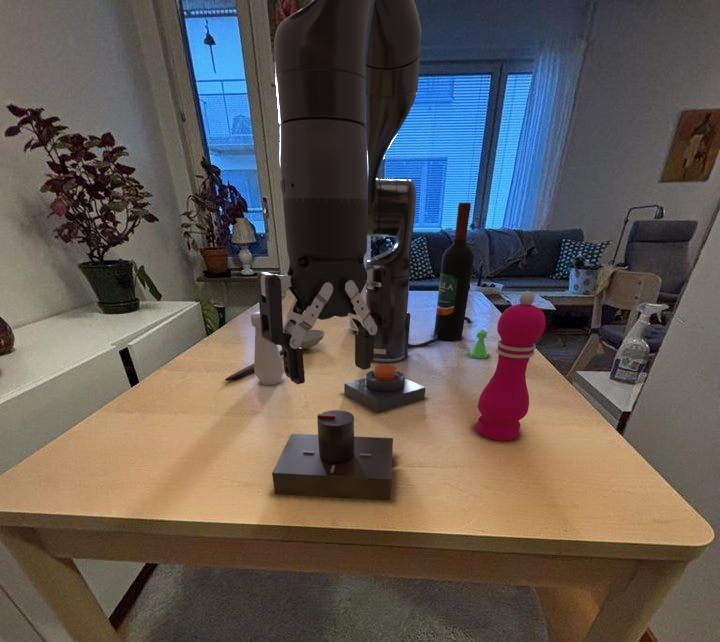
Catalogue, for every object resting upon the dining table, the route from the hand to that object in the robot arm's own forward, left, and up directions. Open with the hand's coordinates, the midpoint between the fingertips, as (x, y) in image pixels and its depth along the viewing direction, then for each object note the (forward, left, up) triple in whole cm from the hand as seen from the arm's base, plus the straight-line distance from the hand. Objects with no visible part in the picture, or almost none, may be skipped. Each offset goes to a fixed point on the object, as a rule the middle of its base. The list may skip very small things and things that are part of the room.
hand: (331, 374), depth 44 cm
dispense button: (-21, -17, -10) cm, 29 cm away
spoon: (-14, -48, -14) cm, 52 cm away
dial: (0, 0, -10) cm, 10 cm away
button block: (-21, -17, -13) cm, 30 cm away
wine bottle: (-61, -40, -14) cm, 74 cm away
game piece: (-55, -24, -14) cm, 62 cm away
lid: (-48, -58, -14) cm, 76 cm away
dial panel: (0, 0, -13) cm, 13 cm away
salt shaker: (-7, -36, -14) cm, 39 cm away
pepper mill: (-27, +4, -14) cm, 31 cm away
